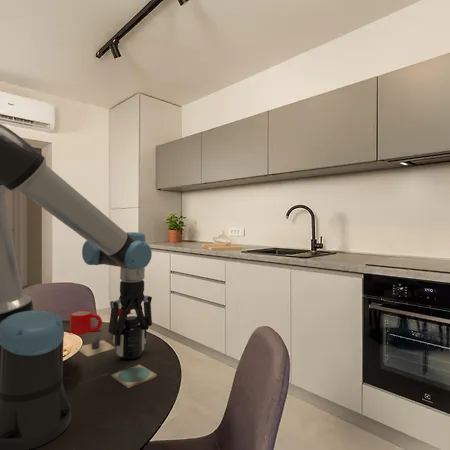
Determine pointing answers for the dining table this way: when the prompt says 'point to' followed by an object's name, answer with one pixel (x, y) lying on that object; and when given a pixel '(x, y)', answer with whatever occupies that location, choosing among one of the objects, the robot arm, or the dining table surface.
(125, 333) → the supplement bottle
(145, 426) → the dining table surface
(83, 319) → the mug
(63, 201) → the robot arm
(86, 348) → the board
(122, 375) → the board
